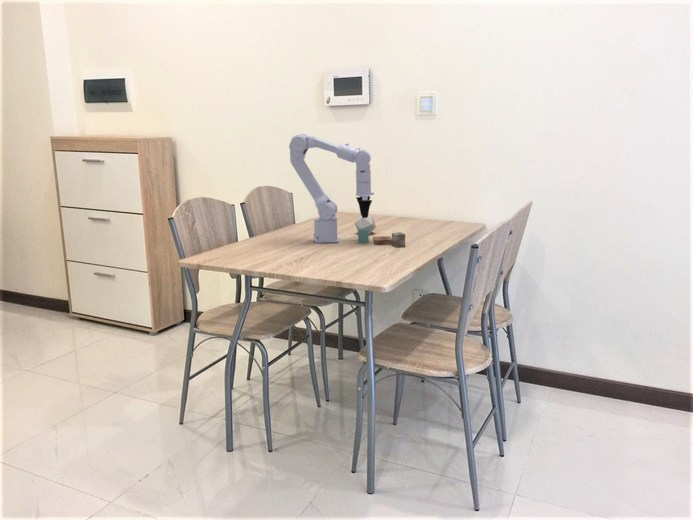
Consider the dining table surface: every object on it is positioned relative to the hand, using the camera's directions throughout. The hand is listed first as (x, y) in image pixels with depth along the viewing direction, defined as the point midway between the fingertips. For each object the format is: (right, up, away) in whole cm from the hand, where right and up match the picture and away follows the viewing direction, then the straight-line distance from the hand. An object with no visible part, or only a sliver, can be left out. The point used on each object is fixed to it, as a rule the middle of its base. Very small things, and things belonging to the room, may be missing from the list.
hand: (364, 216), depth 232 cm
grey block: (+13, -12, -6) cm, 19 cm away
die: (+1, -6, +19) cm, 20 cm away
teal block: (0, -10, +3) cm, 10 cm away
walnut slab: (+7, -11, 0) cm, 13 cm away
